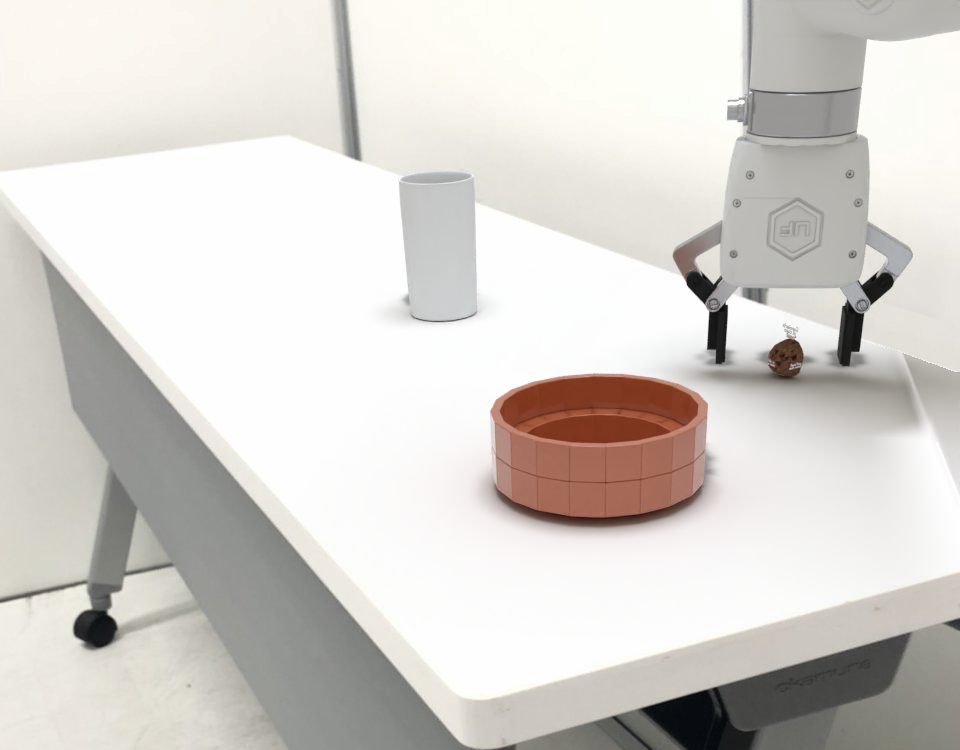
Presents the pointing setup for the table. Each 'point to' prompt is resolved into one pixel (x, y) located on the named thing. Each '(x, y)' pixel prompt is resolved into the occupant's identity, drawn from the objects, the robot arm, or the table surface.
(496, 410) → the bowl
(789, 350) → the chocolate
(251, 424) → the table surface
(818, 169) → the robot arm
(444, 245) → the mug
